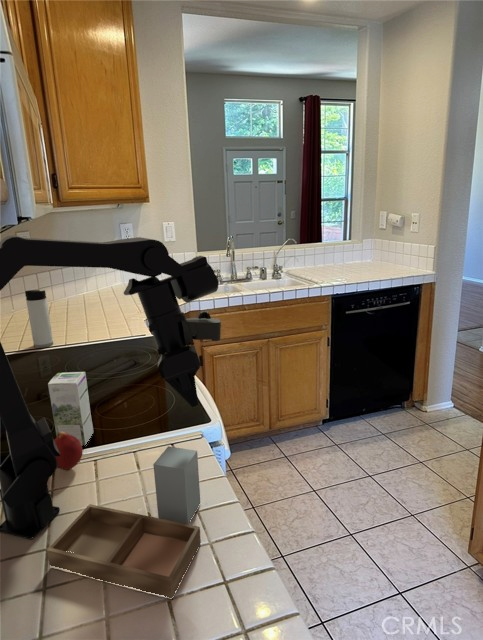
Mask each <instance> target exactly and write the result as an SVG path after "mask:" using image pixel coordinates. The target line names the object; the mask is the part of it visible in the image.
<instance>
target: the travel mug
mask: <svg viewBox="0 0 483 640" xmlns="http://www.w3.org/2000/svg"><path fill="white" fill-rule="evenodd" d="M24 293H25V297H26V299H25V300H26V307H27V313H28V318H29V324H30V331H31V336H32V341H33V342H32V343H33V347H34V348H36V349H37V348H38V349H39V348H41V349H44V348H49V347H51V346H53V344H54V338H53V332H52V325H51V319H50V311H49V307H48V300H47V293H46V290H45V289H43V290H40V289H34V290H33V289H29V290H25V291H24Z"/></svg>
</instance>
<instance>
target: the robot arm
mask: <svg viewBox="0 0 483 640" xmlns="http://www.w3.org/2000/svg"><path fill="white" fill-rule="evenodd" d="M167 248H168V247H166V246H165V244H164V243H163V242H162V241H161V240H158V239H153V238H152V239H151V238H147V237H141V236H139V237H130V238H122V239H117V240H115V239H114V240H111V241H109V240H108V241H100V242H99V241H85V240H83V241H82V240H69V239H68V240H67V239H66V240H65V239H52V238H51V239H50V238H49V239H48V238H34V237H33V238H32V237H31V238H30V237H21V236H18V235H14V234H13V235H7V236H5V237H3V238H2V239H1V240H0V291H2V290H3V289H4V288H5V287H6V286H7V285H8V283H9V282H11V280H12V279H13V278H14V277H15V276H16V275H18V272H20V271H21V270H22V269H23V268H24V267H63V268H67V267H68V268H96V269H97V268H98V269H99V268H100V269H107V268H108V269H113V270H117V271H121V272H126V273H130V274H135V275H138V276H139V275H140V276H145V277H146V278H144V279H140V280H137V278H129V279H128V283H127V286H126V287H125V290H124V291H123V295H124V296H133V295H135V294H137V296H138V298H139V301H140V304H141V306H142V309H143V312H144V315H145V318H146V321H147V323H148V326H147V327H148V330H149V331H150V332H151V334H152V337H153V338H154V342H155V345H156V351H157V354H158V355H159V356H160V358H159V359H158V362H157V370H158V372H159V374H160V378H161V379H163V381H165V382H167V384H168V385H170V387H172V388H173V389H174V390H175V391H176V392H177V393H178V394H179V396H181V397H182V398H183V399H184V400H185V402H187V403H188V405H189V406H190V407H192V408H194V407H197V406H199V399H198V391H197V385H196V378H195V376H196V374H197V372H198V371H199V370H200V368H201V366H202V363H201V360H200V357H199V354H198V352H197V349H196V347H195V342H194V340H195V341H196V340H197V341H202V340H203V341H207V340H208V341H209V340H210V341H213V342H219V341H221V335H222V332H221V331H222V330H221V329H222V328H221V327H222V322H221V320H220V319H219V318H216V317H213V318H212V317H211V315H210V313H209V311H199V312H198V315H197V317H192V318H187V317H186V316H185V313H184V312H183V311H182V310H181V308H180V304H179V301H178V300H183V302H185V303H191V302H193V301H196V300H199V299H201V298H204V297H206V296H208V295H211V294H214V293H216V292H218V289H219V279H218V275H216V273H215V271H214V268H213V267H212V266H211V265H210V264H209V262H208V259H207V257H206V256H204V255H203V256H202V255H198V256H195V257H193V258H191V259H190V260H187V261H184V262H181V263H179V262H178V261H176V260H175V259H174V258H173V257H172V256H170V253H169V250H168V249H167ZM162 274H164V275H166V276H168V277H165V278H163V279H159V278H158V277H159V276H161V275H162ZM0 420H1V423H2V425H3V427H4V429H5V433H6V439H7V444H8V449H9V451H8V452H9V454H8V455H7V456H6V457H5V459H4V460H3V461H2V463H1V464H0V499H1V504H2V505H1V506H2V510H3V515H4V518H5V520H4V521H3V522H2V523H1V524H0V532H1V533H3V532H4V533H5V534H7V535H11V536H16V537H20V536H21V537H20V538H24V537H25V538H24V539H28V538H31V539H33V538H35V537H36V536H37V535H38V533H40V532H41V531H42V530H43V528H45V527H46V525H48V524H49V522H50V521H52V520H53V518H55V517H56V515H58V514H59V513H60V512H61V511H60V510H61V509H60V507H59V506H54V505H53V500H52V495H51V493H49V492H50V491H49V486H48V482H49V479H51V477H52V476H53V474H55V471H56V470H57V469H58V468H57V465H58V464H57V459H56V456H60V452H59V450H58V448H57V446H56V443H55V441H54V437H53V434H52V431H51V429H50V427H49V424H48V422H47V420H46V417H41V419H39V420H37V421H36V420H35V418H34V417H33V416H32V414H31V413H30V411H29V408H28V406H27V403H26V401H25V399H24V396H23V394H22V392H21V389H20V387H19V384H18V381H17V379H16V377H15V375H14V372H13V368H12V366H11V363H10V362H9V359H8V356H7V355H6V351H5V349H4V347H3V344H2V342H1V341H0ZM32 537H33V538H32Z"/></svg>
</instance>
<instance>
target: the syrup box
mask: <svg viewBox="0 0 483 640" xmlns="http://www.w3.org/2000/svg"><path fill="white" fill-rule="evenodd" d="M47 386H48V393H49V398H50V404H51V405H50V406H51V410H52V416H53V422H54V428H55V435H56V438H57V437H58V436H59V435H58V433H59V432H64V433H67V434H70V435H72V436H74V437H76V438H77V439H78V440H79V441H80V443H81V445H82V446H83V445H84V446H85V445H86V444H87V442H88V441H89V442H90V440H91V439H90V438H92V437H93V435H94V426H93V425H94V424H93V420H92V415H91V407H90V406H91V405H90V399H89V391H88V390H89V389H88V381H87V375H86V371H71V372H70V371H69V372H57V373H56V374H55V375H54V376H53V377H52V378H51V379H50V380H49V382H48V383H47ZM92 434H93V435H92ZM91 436H92V437H91ZM89 439H90V440H89ZM89 442H88V443H89ZM87 445H88V444H87ZM87 445H86V446H87ZM86 446H85V447H86Z"/></svg>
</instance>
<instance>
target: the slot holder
mask: <svg viewBox="0 0 483 640" xmlns="http://www.w3.org/2000/svg"><path fill="white" fill-rule="evenodd" d="M200 527H201V526H199V525H198V526H197V525H193V524H184V523H179V522H174V521H169V520H164V519H160V518H158V517H154V516H150V515H149V516H148V515H144V514H139V513H135V512H130V511H125V510H121V509H114V508H110V507H105V506H101V505H96V504H93V503H92V504H90V503H89V504H88V505H87V506H86V508H84V510H83V511H82V512H81V513H80V514H79V515H78V516H77V517H76V518H75V519H74V520H73V521H72V522H71V524H70V525H69V526H67V528H66V529H65V530H64V531H63V532H62V533H61V534H60V535H59V537H58V538H56V540H55V541H54V542H53V543H51V545H50V546H49V547H48V548H47V549H46V552H47V558H48V565H49V566H50V565H51V566H55V567H59V568H63V569H67V570H70V571H72V572H76V573H80V574H82V575H86V576H89V577H93V578H95V579H100V580H103V581H107V582H111V583H115V584H119V585H122V586H124V585H125V586H128V587H133V588H136V589H140V590H142V591H146V592H151V593H155V594H159V595H164V596H165V597H166V596H167V597H169V598H172V597H173V596H174V594H175V591H176V590H177V588H178V586H179V583H180V582H181V580H182V577H183V575H184V574H185V572H186V570H187V568H188V566H189V564H190V562H191V561H192V558H193V556H194V555H195V553H196V551H197V549H198V547H199V545H200V543H201V542H202V541H201V540H202V539H201V528H200ZM201 544H202V543H201ZM200 546H201V545H200ZM199 548H200V547H199ZM198 550H199V549H198ZM66 551H67V552H66ZM68 551H69V552H68ZM70 551H71V552H72V553H71V552H70ZM73 552H74V553H73ZM197 552H198V551H197ZM196 554H197V553H196ZM195 556H196V555H195ZM192 562H193V561H192ZM188 569H189V568H188ZM187 571H188V570H187ZM186 573H187V572H186ZM185 575H186V574H185ZM182 581H183V580H182ZM181 583H182V582H181ZM179 587H180V586H179ZM178 589H179V588H178ZM177 591H178V590H177ZM175 595H176V594H175ZM174 597H175V596H174Z"/></svg>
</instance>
